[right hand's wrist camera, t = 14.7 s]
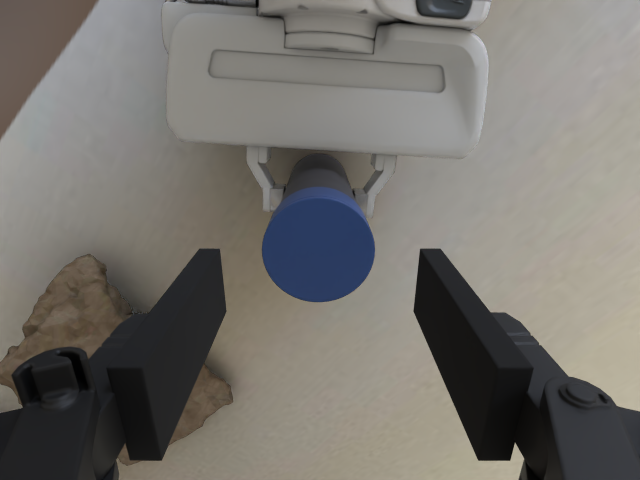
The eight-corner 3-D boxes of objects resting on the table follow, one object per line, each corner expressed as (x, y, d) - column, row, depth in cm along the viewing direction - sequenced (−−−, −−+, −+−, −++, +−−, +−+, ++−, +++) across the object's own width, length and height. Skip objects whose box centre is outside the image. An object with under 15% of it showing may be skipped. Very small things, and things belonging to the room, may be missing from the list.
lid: (379, 197, 19) (387, 210, 17) (355, 288, 21) (360, 310, 19) (276, 177, 19) (271, 187, 17) (261, 271, 21) (254, 292, 19)
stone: (-33, 338, 35) (-77, 383, 29) (93, 240, 35) (72, 266, 30) (140, 443, 44) (131, 492, 39) (238, 365, 44) (243, 402, 39)
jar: (352, 159, 32) (381, 210, 18) (340, 214, 34) (356, 302, 19) (295, 148, 32) (275, 190, 17) (286, 203, 34) (260, 285, 19)
